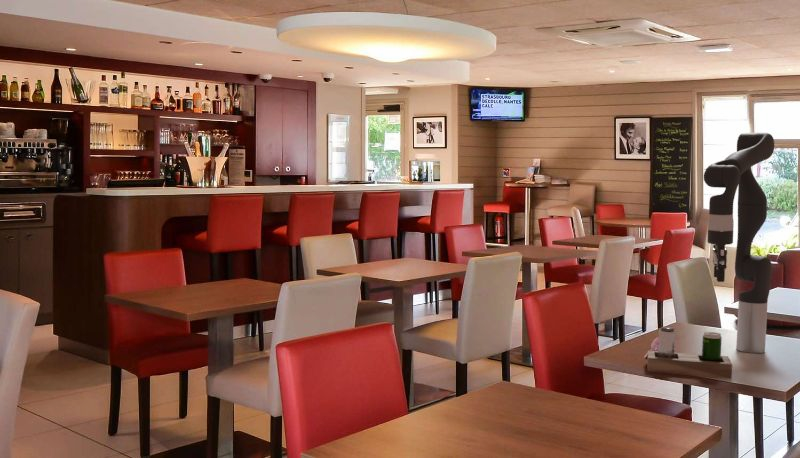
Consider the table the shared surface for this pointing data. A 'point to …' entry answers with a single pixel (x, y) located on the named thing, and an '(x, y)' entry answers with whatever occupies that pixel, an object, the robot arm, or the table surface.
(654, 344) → the lily
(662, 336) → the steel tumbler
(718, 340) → the beer can
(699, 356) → the caddy
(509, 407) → the table surface
